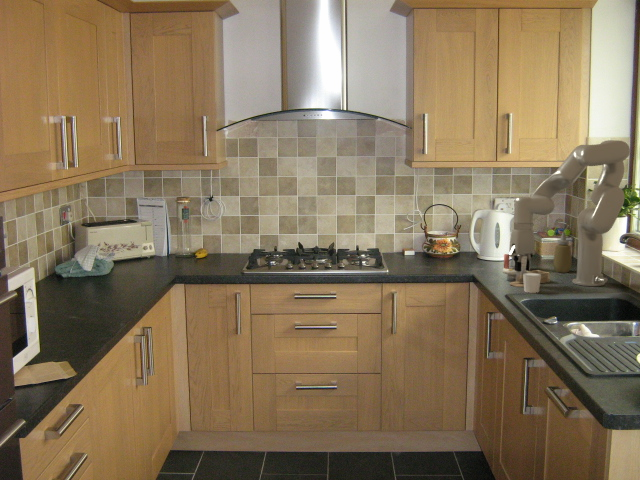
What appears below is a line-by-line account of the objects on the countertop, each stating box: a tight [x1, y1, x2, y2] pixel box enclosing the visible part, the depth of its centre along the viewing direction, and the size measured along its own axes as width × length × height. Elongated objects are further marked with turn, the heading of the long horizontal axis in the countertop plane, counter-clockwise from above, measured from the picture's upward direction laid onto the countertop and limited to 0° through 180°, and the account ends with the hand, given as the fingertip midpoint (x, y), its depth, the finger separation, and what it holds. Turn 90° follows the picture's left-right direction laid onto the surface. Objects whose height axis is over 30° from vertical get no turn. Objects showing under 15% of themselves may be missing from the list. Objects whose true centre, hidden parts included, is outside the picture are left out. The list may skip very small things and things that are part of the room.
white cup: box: [523, 273, 541, 294], centre depth 287 cm, size 7×7×7 cm
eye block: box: [526, 269, 551, 284], centre depth 306 cm, size 7×7×4 cm
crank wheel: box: [502, 253, 516, 275], centre depth 308 cm, size 9×9×8 cm
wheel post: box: [506, 274, 516, 282], centre depth 309 cm, size 5×5×3 cm
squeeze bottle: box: [553, 231, 573, 274], centre depth 325 cm, size 8×8×18 cm
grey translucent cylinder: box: [514, 254, 527, 282], centre depth 299 cm, size 4×4×11 cm
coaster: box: [509, 281, 524, 288], centre depth 299 cm, size 9×9×1 cm
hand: (521, 270), depth 298 cm, fingers closed on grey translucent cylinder, 3 cm apart
